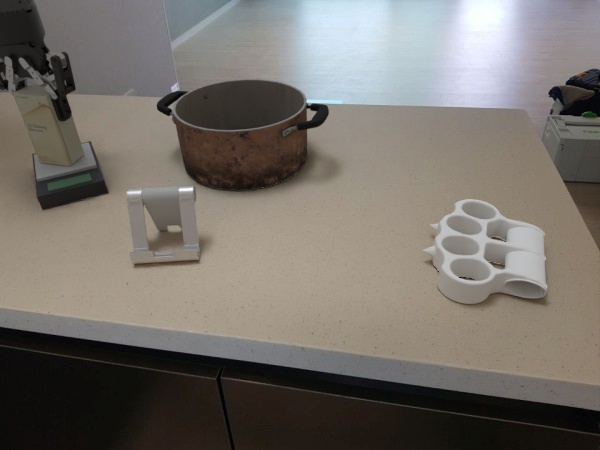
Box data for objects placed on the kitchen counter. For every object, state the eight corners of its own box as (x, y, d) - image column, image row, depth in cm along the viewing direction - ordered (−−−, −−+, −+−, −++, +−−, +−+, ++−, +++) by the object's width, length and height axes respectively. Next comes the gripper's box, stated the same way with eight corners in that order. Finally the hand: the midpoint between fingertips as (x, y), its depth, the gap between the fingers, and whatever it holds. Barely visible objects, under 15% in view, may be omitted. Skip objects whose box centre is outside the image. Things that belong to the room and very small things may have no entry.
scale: (37, 166, 83) (30, 150, 81) (94, 152, 86) (89, 137, 84) (42, 210, 71) (35, 193, 69) (108, 192, 75) (103, 176, 73)
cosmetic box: (39, 163, 77) (9, 93, 70) (56, 151, 80) (30, 83, 73) (71, 167, 76) (45, 96, 68) (87, 154, 79) (63, 85, 72)
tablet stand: (133, 267, 60) (116, 215, 55) (145, 230, 66) (130, 181, 61) (198, 262, 60) (187, 211, 55) (204, 227, 67) (195, 178, 62)
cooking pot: (340, 140, 88) (342, 86, 81) (308, 204, 71) (307, 141, 64) (200, 124, 95) (191, 73, 89) (140, 178, 78) (124, 120, 72)
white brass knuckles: (542, 324, 51) (410, 291, 55) (539, 231, 64) (433, 210, 68) (551, 303, 49) (414, 271, 53) (546, 211, 62) (436, 191, 66)
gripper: (-59, 7, 62) (-7, 122, 72) (27, 12, 59) (70, 132, 69) (-15, -4, 68) (28, 104, 78) (66, 0, 64) (100, 112, 74)
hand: (47, 116), depth 73 cm, fingers closed on cosmetic box, 6 cm apart
